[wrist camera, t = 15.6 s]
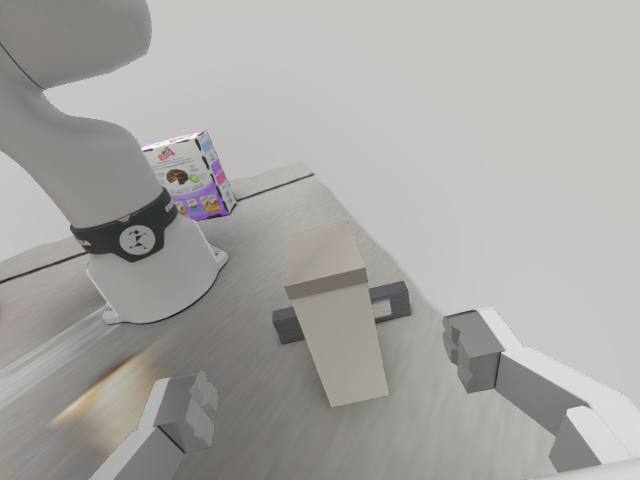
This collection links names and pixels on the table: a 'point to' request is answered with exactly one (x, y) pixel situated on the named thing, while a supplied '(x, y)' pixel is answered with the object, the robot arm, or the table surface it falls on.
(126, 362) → the table surface
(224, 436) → the table surface
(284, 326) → the rail
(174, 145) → the candy box
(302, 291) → the carton
